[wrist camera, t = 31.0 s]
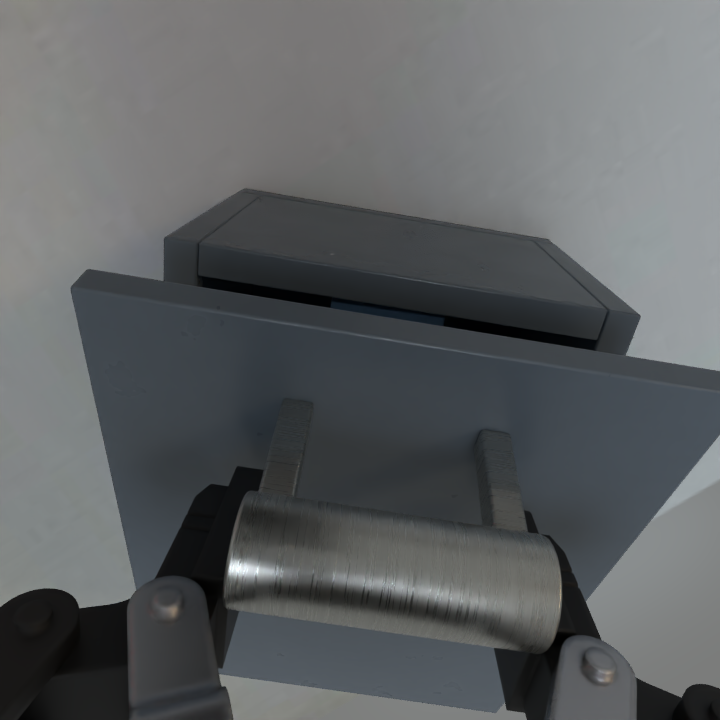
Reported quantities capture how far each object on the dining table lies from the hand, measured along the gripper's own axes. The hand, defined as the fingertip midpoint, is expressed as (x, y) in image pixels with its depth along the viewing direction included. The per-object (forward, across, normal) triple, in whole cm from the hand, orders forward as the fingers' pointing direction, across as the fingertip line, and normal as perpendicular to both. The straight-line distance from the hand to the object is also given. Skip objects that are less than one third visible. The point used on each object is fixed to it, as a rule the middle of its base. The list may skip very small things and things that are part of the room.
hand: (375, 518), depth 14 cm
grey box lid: (+3, 0, +4) cm, 4 cm away
